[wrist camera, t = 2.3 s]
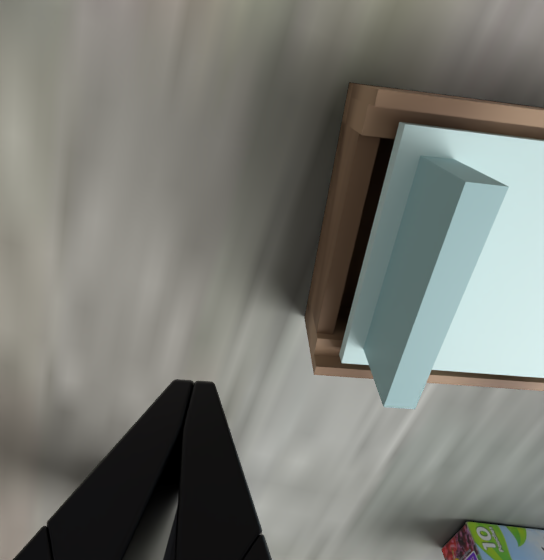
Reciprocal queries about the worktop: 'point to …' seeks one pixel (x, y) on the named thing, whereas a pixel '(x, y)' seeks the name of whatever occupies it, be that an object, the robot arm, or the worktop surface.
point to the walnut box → (364, 201)
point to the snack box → (495, 543)
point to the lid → (452, 262)
